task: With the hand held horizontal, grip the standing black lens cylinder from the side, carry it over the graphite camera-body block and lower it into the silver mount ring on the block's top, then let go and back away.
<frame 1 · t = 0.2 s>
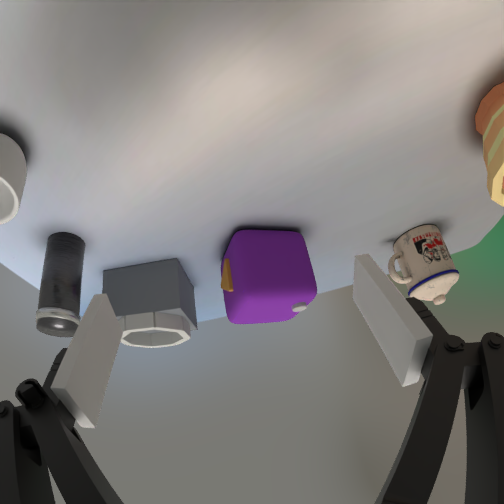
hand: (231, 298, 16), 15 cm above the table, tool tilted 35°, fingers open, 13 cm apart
camera body block: (150, 279, 46), on the table
lens: (66, 243, 35), on the table
teacup with lid: (408, 237, 48), on the table
toy camera: (256, 250, 44), on the table
potted cactus: (501, 109, 25), on the table
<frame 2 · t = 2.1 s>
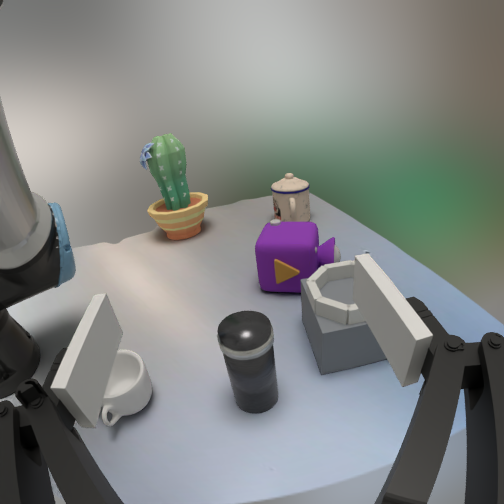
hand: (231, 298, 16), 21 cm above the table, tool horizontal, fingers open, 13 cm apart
camera body block: (346, 337, 41), on the table
lens: (256, 396, 35), on the table
teacup: (128, 407, 34), on the table
teacup with lid: (293, 222, 78), on the table
toy camera: (300, 280, 56), on the table
potted cactus: (184, 232, 81), on the table
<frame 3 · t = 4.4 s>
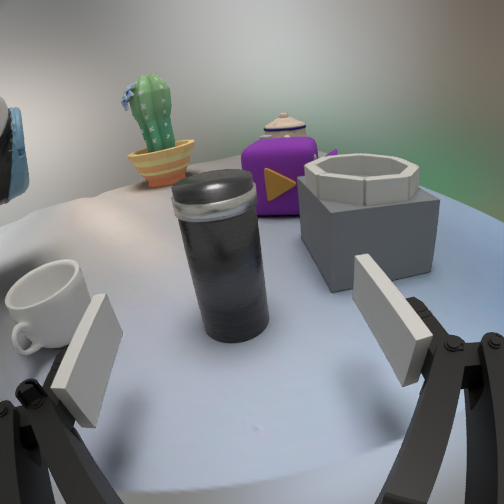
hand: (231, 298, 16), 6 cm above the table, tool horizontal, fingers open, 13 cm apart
camera body block: (361, 253, 31), on the table
lens: (236, 320, 24), on the table
teacup: (61, 341, 24), on the table
teacup with lid: (289, 167, 68), on the table
toy camera: (297, 207, 45), on the table
potted cactus: (167, 181, 70), on the table
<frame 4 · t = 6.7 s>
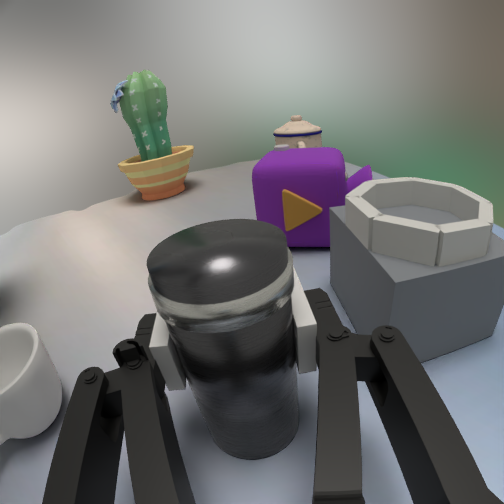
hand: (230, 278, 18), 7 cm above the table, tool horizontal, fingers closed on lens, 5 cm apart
camera body block: (408, 308, 23), on the table
lens: (254, 422, 16), on the table, touching gripper
teacup: (30, 424, 16), on the table
teacup with lid: (302, 178, 59), on the table
toy camera: (319, 234, 37), on the table
potted cactus: (163, 193, 62), on the table
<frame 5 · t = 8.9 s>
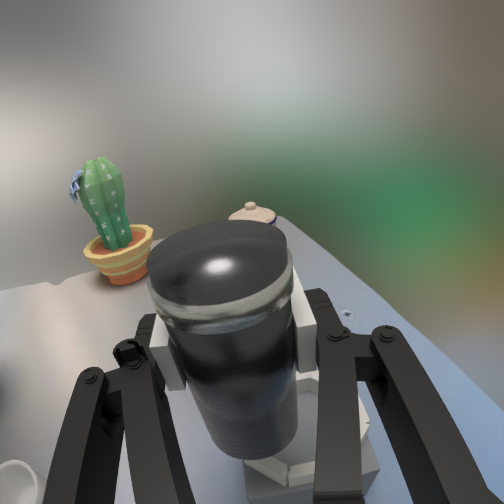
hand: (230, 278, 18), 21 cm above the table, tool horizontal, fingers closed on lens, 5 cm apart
camera body block: (301, 462, 26), on the table
lens: (253, 422, 16), point 15 cm above the table, touching gripper
teacup with lid: (257, 263, 63), on the table
potted cactus: (128, 274, 65), on the table
when the fingers open (15 cm above the table, at t = 10.9 s): lens drops 1 cm, resting on camera body block.
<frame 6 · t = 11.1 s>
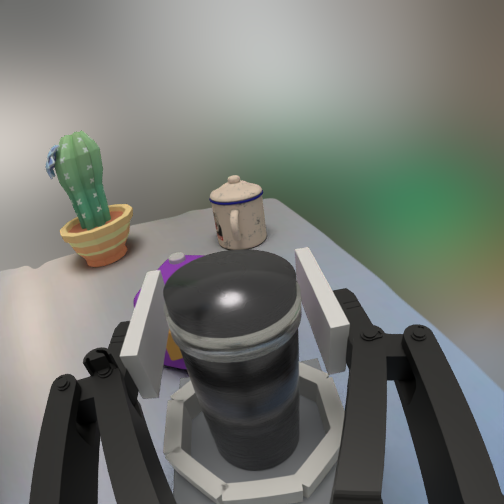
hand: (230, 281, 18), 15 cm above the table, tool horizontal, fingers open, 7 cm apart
camera body block: (266, 474, 20), on the table
lens: (257, 435, 17), point 7 cm above the table, touching camera body block
teacup with lid: (242, 244, 57), on the table
toy camera: (221, 347, 34), on the table
potted cactus: (107, 256, 60), on the table
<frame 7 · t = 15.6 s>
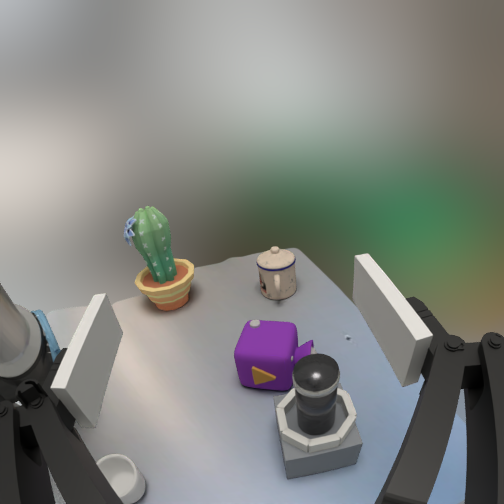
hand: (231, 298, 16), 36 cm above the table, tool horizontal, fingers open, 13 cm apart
camera body block: (314, 442, 42), on the table
lens: (316, 420, 38), point 7 cm above the table, touching camera body block
teacup: (127, 495, 35), on the table
teacup with lid: (279, 294, 78), on the table
toy camera: (279, 373, 56), on the table
potted cactus: (172, 300, 81), on the table
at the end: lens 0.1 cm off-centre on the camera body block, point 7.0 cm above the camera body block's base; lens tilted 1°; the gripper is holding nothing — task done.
